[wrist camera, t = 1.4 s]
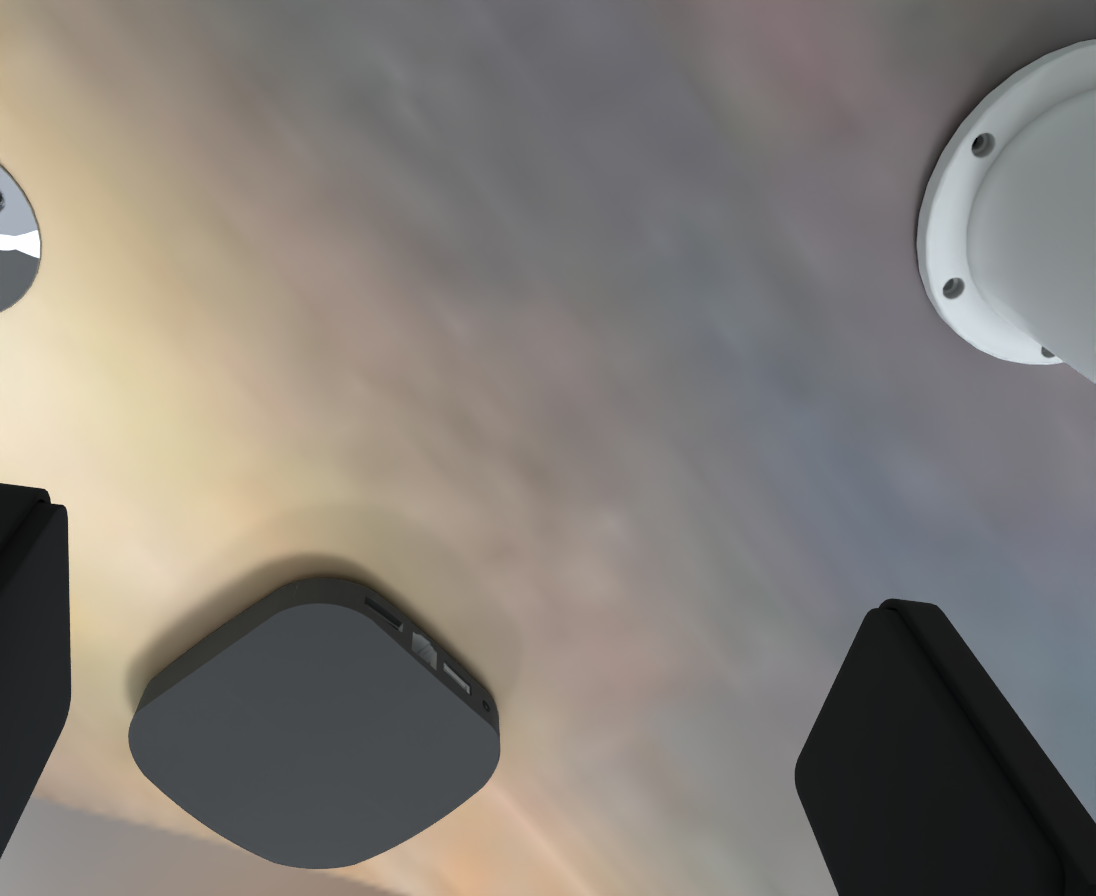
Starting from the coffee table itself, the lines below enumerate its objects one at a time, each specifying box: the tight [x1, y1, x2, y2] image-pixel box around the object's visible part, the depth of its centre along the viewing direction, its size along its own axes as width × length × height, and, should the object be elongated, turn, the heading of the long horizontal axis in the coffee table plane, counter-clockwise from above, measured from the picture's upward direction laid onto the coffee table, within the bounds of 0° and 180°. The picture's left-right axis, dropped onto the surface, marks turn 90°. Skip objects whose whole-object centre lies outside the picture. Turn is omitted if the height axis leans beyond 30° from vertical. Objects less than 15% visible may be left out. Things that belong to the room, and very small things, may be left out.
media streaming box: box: [128, 578, 500, 869], centre depth 46 cm, size 15×15×3 cm
